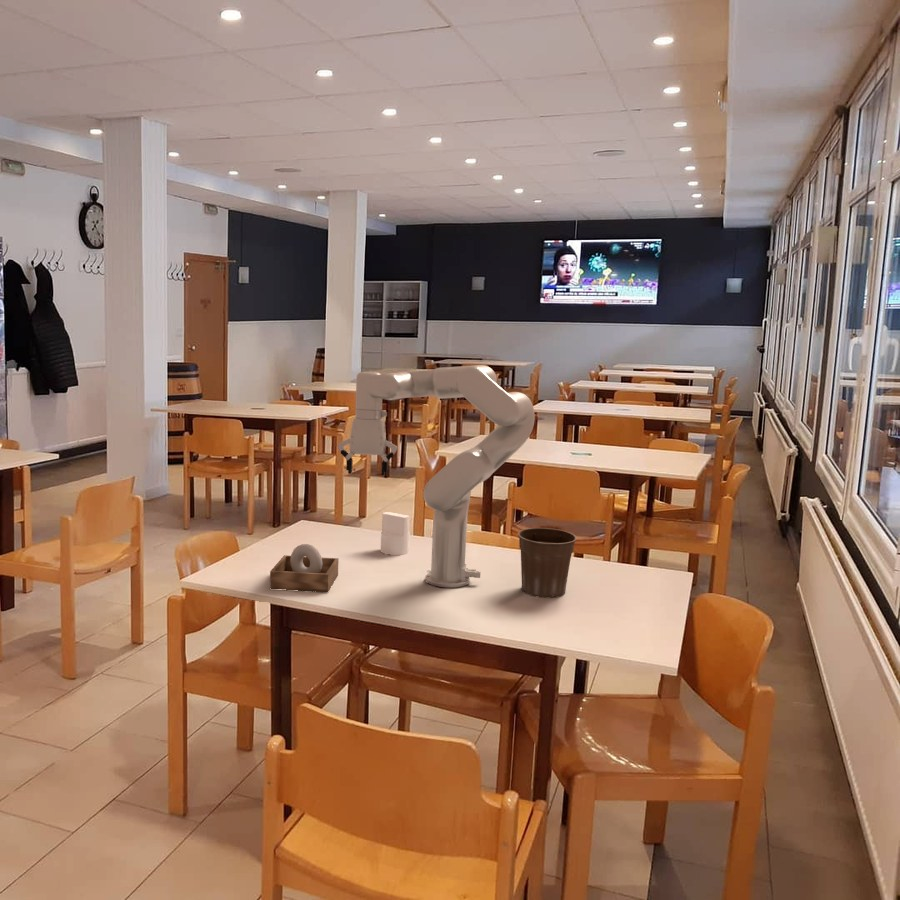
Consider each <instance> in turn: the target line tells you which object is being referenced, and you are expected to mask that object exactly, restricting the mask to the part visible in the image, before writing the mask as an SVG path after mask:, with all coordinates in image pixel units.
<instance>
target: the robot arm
mask: <svg viewBox="0 0 900 900" xmlns="http://www.w3.org/2000/svg"><path fill="white" fill-rule="evenodd" d="M355 382H356V383H355V384H356V385H355V415H354V416H355V418H353V419H352V423H351V429H350V434H349V436H350V437H349V438H348V439H346V440H343V441H341V442H339V443H338V444H337V445H336V446H337V447H338V450H339V452H340V454H341V455H342V456H343V457H344V459H345V460H346V467H345V468H346V471H348V475H350V474H352V473H353V462H354V461H353V458H352V457H353V455H354V454H355V455H365V456H366V455H369V456H379V457H381V459H382V462H381V476H385V475H386V473H388V463H389V460H391V459H392V458H393V457H394V455H395V454H396V452H397V450H398V448H399V447H398V446H397V445H396V444H393V443H392V442H391V441H389V440H387V437H386V435H387V433H386V431H387V430H386V422H385V420H384V419H382V418H384V417H385V418H386V417H387V416H388V412H387V411H384V410H383V400H387V401H396V400H400V399H406V398H407V399H408V398H420V397H421V398H422V397H435V398H437V399H442V400H443V399H458V398H465V399H466V400H467V401H468V402H469V403H470V404H471V405H472V406H474V407H475V408H476V409H477V410H478V411H480V413H481V414H482V415H484V416H485V417H486V418H487V419H489V420H490V421H491V422H493V423H494V424H496V425H498V426H497V427H496V428H494V429H493V430H492V431H491V432H490V433H489V434H487V436H486V437H484V438H483V439H482V440H481V441H480V442H479V443H477V444H476V445H475V446H474V447H471V448H469V449H467V450H464V451H462V452H460V453H459V454H457V455H455V457H453V458H452V459H451V460H450V461H449V462H447V464H446V465H444V466H443V467H442V468H441V469H440V470H438V472H437V473H436V474H434V475H433V476H432V477H431V478H429V480H428V482H427V483H426V484H425V486H424V489H423V499H424V502H425V504H426V506H427V507H429V509H431V510H433V511H434V513H433V522H432V525H433V526H432V541H431V542H432V543H431V544H432V545H431V560H430V561H431V563H430V572H429V573H427V574H425V576H424V578H425V579H424V580H425V582H426V584H429V585H431V586H434V587H439V588H450V589H451V588H460V587H465V586H466V585H468V584H470V581H471V580H470V578H474V579H475V578H478V579H480V578H481V570H477V569H476V568H474V569H473V568H472V569H471V568H470V569H469V568H468V567H467V564H466V552H467V551H466V548H467V531H468V530H467V529H468V514H469V507H470V501H471V495H472V494H471V493H472V490H473V489H474V488H475V487H478V485H479V484H481V483H483V482H485V481H487V480H488V479H489V478H491V476H492V475H493V473H495V472H496V471H497V470H498V469H499V468H500V467H501V466H502V465H503V464H505V463H506V462H507V461H508V460H509V459H510V458H511V457H512V456H513V455H514V454H515V453H516V452H518V451H519V449H520V448H522V447H523V446H524V444H525V443H526V442H527V441H528V439H529V438H530V436H531V433H532V431H533V429H534V425H535V417H536V416H535V408H534V405H533V402H532V400H531V399H530V398H529V397H528V396H527V395H526V394H525V393H523V392H520V391H511V392H510V391H509V392H507V391H506V390H505V389H503V387H502V386H500V385H498V384H497V374H496V372H495V371H494V370H493V368H491V367H489V366H488V365H484V364H482V365H481V364H477V365H476V364H475V365H462V366H446V367H445V366H444V367H437V368H436V367H435V368H434V369H429V370H428V369H427V370H415V371H400V372H399V371H398V372H389V373H380V372H378V371H360V372H358V373H357V374H356V381H355ZM347 445H349V452H348V451H346V449H345V446H347ZM387 447H388V448H389V449H391V450H390V453H388V454H387V453H386V451H387V450H386V448H387Z"/></svg>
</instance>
